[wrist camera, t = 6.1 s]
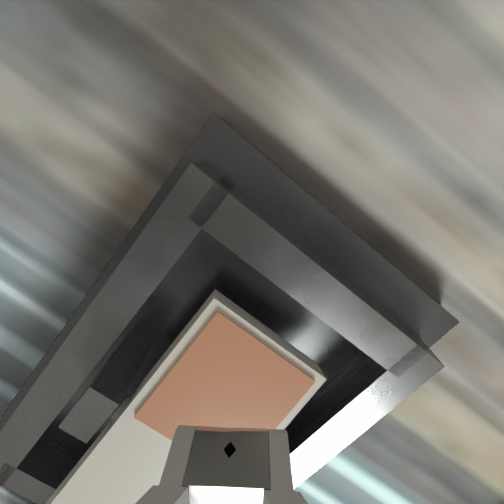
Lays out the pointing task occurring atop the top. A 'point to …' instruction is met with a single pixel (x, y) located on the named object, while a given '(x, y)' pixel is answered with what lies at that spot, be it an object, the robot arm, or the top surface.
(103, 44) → the top surface
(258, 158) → the grey shallow tray
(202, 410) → the rocker
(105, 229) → the top surface
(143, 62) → the top surface
